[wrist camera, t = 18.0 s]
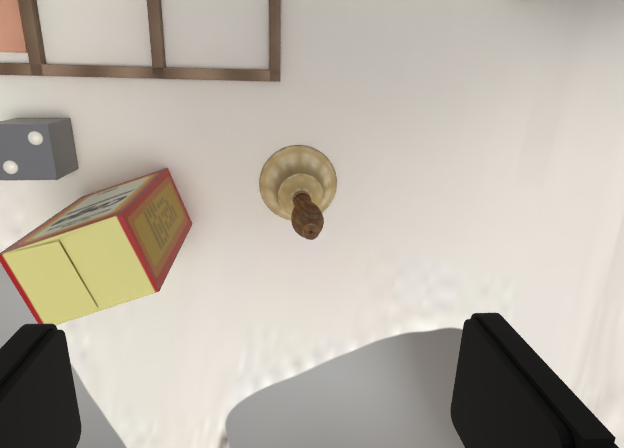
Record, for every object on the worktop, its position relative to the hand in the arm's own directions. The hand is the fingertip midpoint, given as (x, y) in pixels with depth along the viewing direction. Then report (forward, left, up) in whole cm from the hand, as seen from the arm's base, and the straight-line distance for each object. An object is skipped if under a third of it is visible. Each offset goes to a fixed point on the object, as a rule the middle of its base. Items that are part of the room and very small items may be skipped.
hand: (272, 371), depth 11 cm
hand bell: (-3, +5, -39) cm, 39 cm away
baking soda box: (+14, +8, -38) cm, 42 cm away
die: (+22, +1, -38) cm, 44 cm away
